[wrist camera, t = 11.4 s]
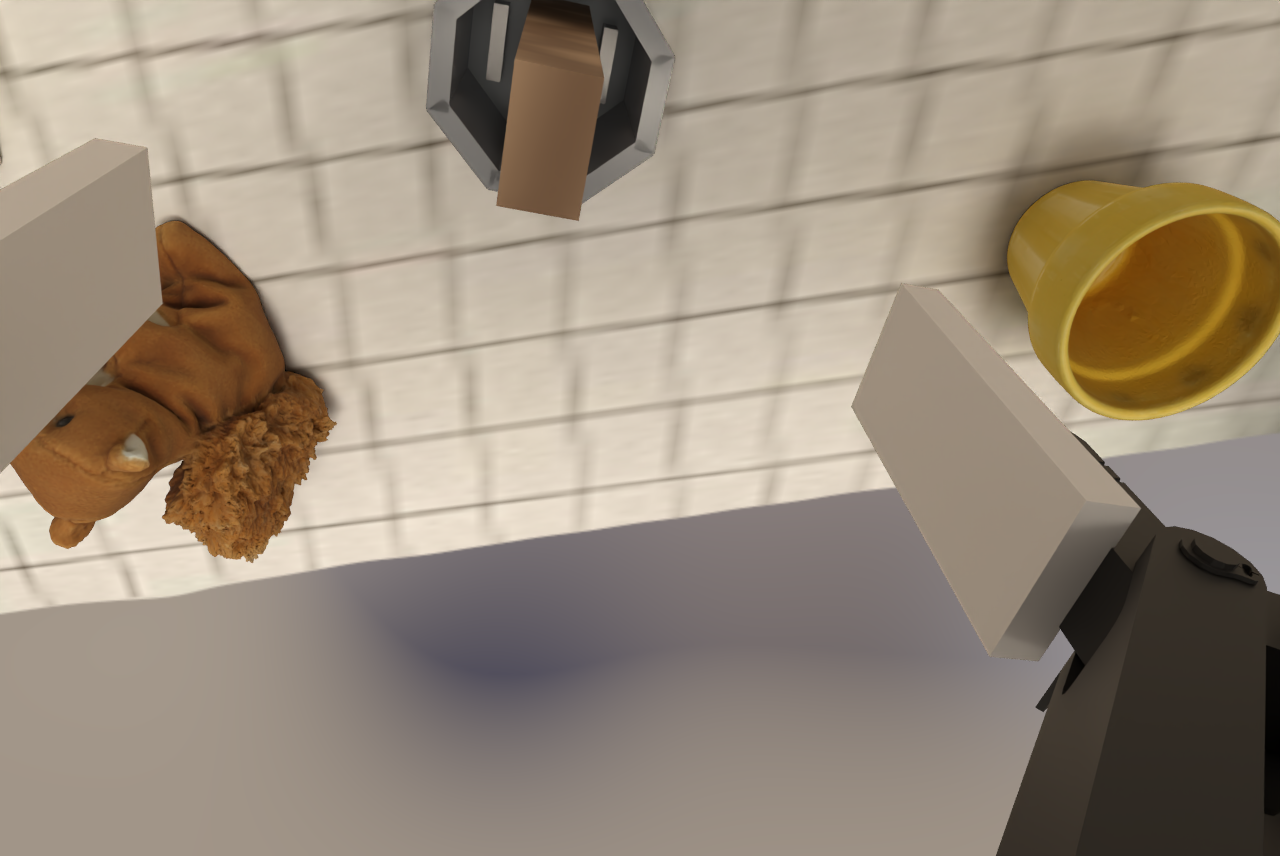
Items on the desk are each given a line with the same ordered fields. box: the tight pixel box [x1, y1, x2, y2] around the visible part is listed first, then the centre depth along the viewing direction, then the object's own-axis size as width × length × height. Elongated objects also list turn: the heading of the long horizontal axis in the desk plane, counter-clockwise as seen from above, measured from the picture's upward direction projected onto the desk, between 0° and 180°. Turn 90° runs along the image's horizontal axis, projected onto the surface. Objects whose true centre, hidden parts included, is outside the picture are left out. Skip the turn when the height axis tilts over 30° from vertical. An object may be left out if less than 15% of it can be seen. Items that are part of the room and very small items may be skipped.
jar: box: [426, 0, 675, 203], centre depth 34 cm, size 9×9×8 cm
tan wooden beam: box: [496, 0, 604, 221], centre depth 30 cm, size 2×4×16 cm, turn 167°
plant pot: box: [1007, 180, 1280, 420], centre depth 40 cm, size 10×10×10 cm
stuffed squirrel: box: [10, 221, 337, 563], centre depth 39 cm, size 10×14×13 cm
